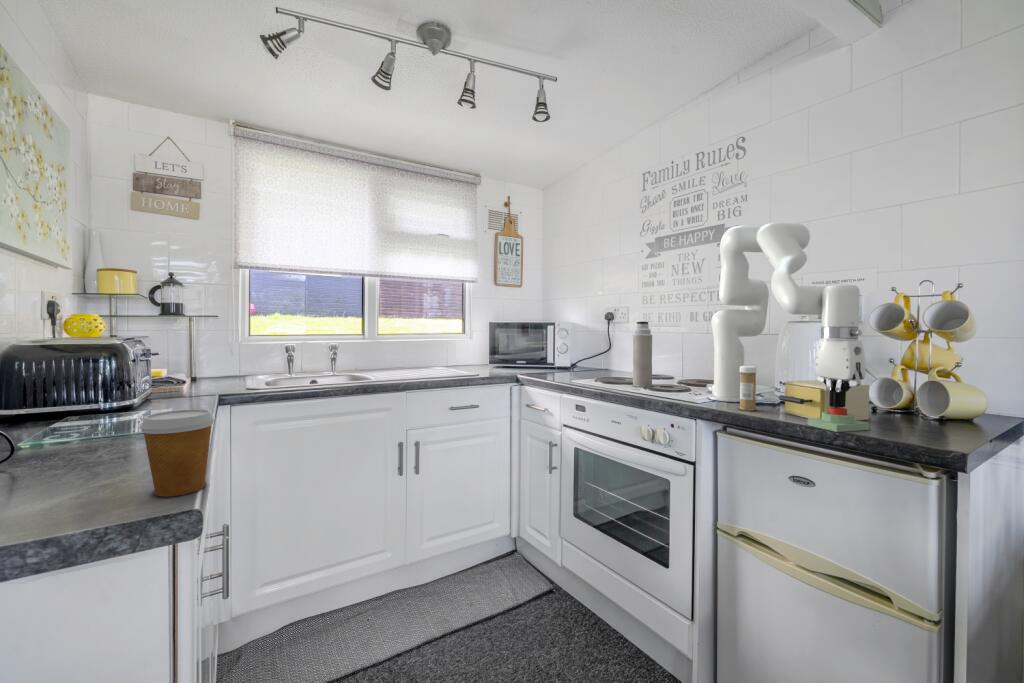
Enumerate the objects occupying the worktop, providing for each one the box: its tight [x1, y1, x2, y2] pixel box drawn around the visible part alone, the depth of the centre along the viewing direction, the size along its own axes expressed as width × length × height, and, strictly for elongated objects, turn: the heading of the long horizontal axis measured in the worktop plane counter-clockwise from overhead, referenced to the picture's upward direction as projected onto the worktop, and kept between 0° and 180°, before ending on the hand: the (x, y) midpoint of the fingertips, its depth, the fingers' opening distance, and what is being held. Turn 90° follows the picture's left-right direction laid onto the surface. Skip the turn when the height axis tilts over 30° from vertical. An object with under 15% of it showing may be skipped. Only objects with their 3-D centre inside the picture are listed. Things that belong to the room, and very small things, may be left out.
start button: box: [829, 407, 847, 415], centre depth 112 cm, size 4×4×2 cm
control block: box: [807, 411, 870, 433], centre depth 112 cm, size 8×10×4 cm
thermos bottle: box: [632, 321, 653, 388], centre depth 193 cm, size 8×8×28 cm
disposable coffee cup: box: [139, 408, 216, 498], centre depth 70 cm, size 10×10×12 cm
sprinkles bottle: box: [739, 365, 757, 412], centre depth 136 cm, size 5×5×13 cm
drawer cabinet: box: [786, 379, 870, 421], centre depth 126 cm, size 15×13×10 cm
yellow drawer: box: [778, 383, 824, 418], centre depth 125 cm, size 18×11×8 cm, turn 103°
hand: (837, 406), depth 112 cm, fingers closed
